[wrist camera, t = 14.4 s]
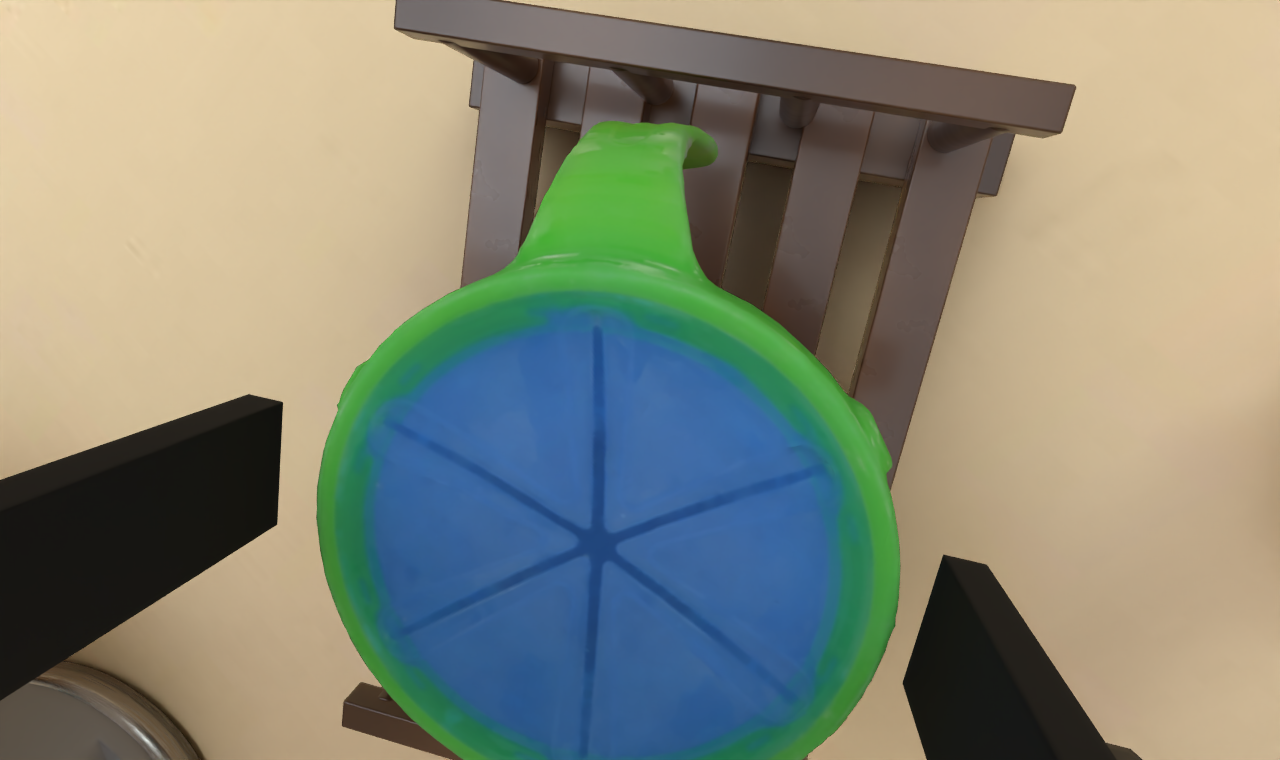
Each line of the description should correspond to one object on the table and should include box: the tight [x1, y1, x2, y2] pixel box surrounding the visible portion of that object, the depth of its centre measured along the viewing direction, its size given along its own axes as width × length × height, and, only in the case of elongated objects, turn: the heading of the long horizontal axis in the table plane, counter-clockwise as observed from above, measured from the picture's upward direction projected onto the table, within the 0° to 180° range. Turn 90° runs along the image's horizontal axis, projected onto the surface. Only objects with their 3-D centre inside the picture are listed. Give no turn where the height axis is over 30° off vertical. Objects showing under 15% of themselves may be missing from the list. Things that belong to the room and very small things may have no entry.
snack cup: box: [316, 121, 900, 760], centre depth 17 cm, size 16×10×10 cm
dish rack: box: [342, 0, 1076, 760], centre depth 21 cm, size 16×20×10 cm
